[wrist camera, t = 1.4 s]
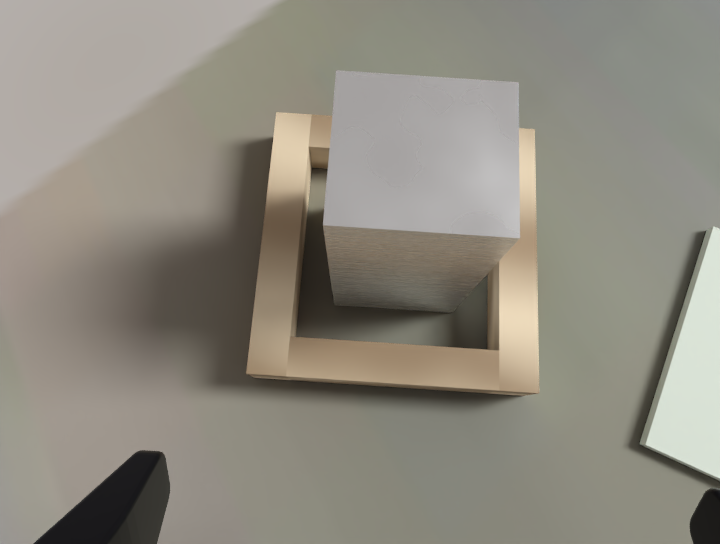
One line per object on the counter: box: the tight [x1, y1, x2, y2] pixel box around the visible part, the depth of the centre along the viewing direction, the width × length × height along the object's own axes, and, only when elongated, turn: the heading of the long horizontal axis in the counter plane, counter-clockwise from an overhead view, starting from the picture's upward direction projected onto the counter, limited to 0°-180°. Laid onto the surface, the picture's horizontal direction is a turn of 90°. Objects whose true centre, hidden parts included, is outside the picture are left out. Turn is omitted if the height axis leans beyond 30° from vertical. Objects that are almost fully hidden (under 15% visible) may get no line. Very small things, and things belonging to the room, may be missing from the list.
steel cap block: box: [323, 70, 520, 313], centre depth 20 cm, size 4×5×10 cm
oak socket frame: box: [246, 112, 539, 396], centre depth 24 cm, size 11×11×2 cm
